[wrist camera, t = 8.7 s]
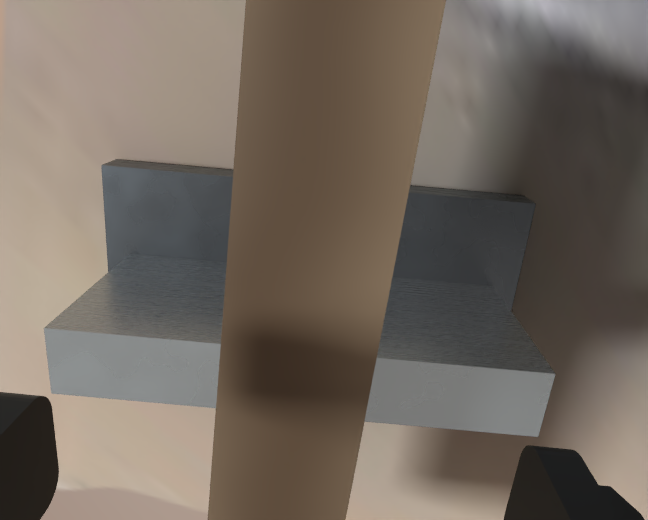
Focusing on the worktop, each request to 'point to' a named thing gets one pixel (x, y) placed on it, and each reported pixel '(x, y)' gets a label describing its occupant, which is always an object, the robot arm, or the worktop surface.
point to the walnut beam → (313, 243)
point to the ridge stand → (398, 328)
